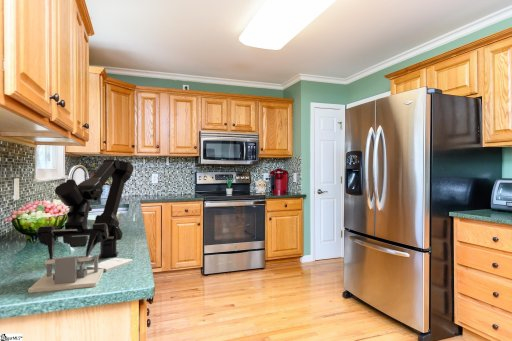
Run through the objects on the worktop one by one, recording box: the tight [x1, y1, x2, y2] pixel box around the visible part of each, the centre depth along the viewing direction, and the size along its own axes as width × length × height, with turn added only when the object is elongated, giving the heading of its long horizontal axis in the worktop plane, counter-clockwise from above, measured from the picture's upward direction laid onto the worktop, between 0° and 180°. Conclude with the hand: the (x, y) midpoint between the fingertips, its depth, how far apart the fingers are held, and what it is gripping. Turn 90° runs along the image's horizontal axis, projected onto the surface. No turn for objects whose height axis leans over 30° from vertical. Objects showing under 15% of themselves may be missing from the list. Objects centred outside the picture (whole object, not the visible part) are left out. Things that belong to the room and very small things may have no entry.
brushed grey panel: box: [44, 255, 94, 265], centre depth 93 cm, size 1×11×8 cm
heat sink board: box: [27, 254, 105, 294], centre depth 92 cm, size 14×16×8 cm
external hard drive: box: [86, 257, 134, 273], centre depth 108 cm, size 2×8×12 cm
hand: (69, 257), depth 91 cm, fingers open, 9 cm apart
